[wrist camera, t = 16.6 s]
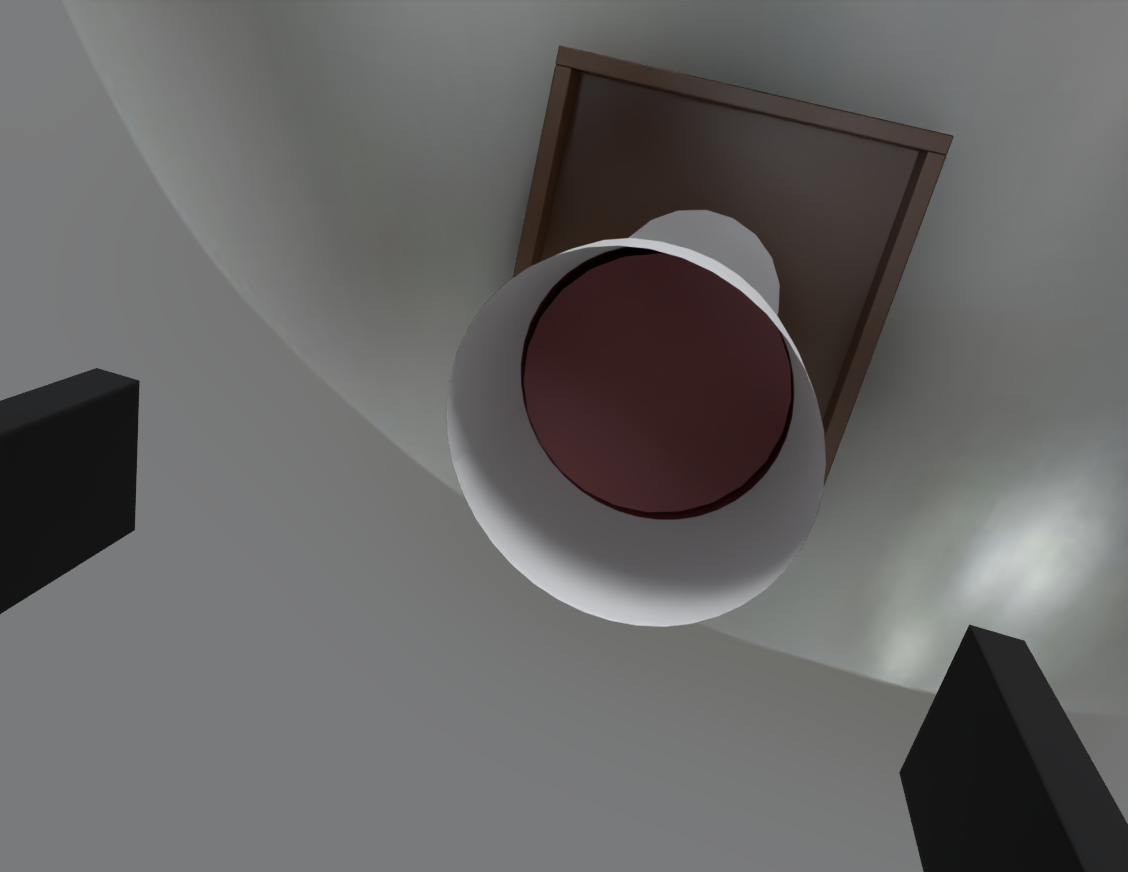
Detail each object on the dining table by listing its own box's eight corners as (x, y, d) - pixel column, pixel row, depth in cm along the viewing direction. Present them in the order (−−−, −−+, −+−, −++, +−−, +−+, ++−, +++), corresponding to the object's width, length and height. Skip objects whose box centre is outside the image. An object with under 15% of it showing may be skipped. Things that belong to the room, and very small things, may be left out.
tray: (570, 51, 40) (558, 44, 37) (940, 136, 38) (954, 135, 35) (494, 425, 47) (480, 440, 44) (802, 514, 45) (805, 535, 42)
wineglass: (730, 160, 39) (707, 167, 18) (819, 346, 41) (893, 552, 20) (565, 252, 42) (377, 352, 21) (655, 422, 44) (566, 671, 23)
